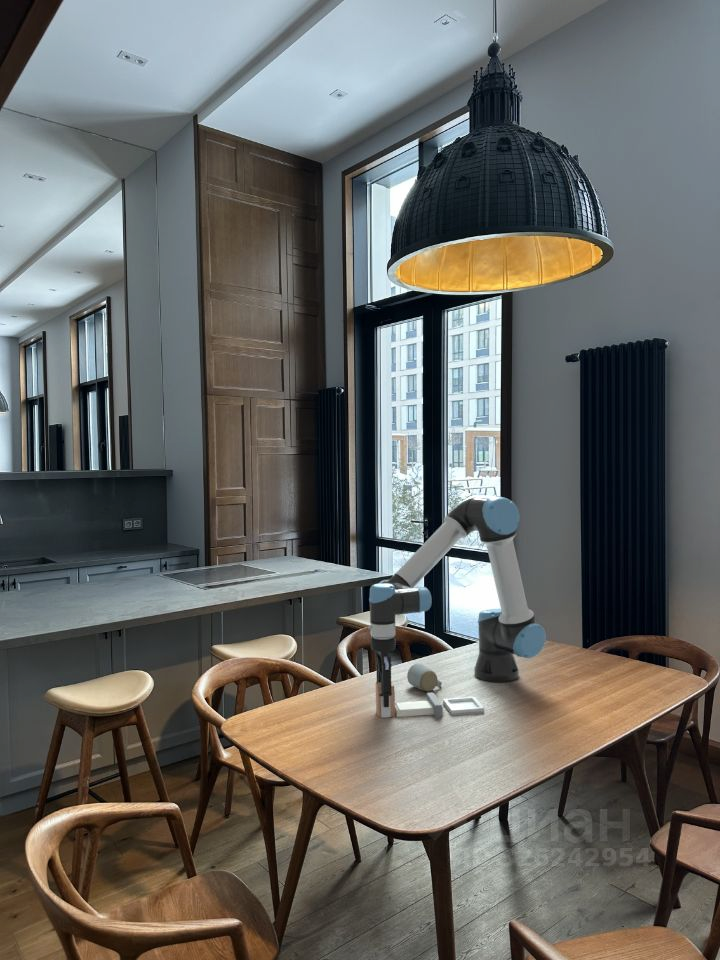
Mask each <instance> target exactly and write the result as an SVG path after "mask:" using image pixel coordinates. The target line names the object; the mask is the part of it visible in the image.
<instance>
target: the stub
mask: <svg viewBox="0 0 720 960" xmlns="http://www.w3.org/2000/svg"><path fill="white" fill-rule="evenodd" d="M391 692H392V695H391V696H390V706H391V717H395V716H396V713H395V703H396V702H395V701H396V691H395V685H394V683H393V681H391ZM381 693H382V690H381V682H380V683H376V682H375V705H376V706H375V712H376V715H377V717H378V718H382V717H381V696H379V694H381Z"/></svg>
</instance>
